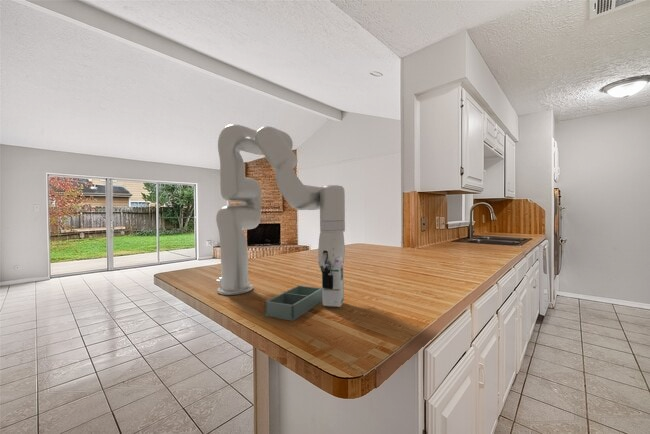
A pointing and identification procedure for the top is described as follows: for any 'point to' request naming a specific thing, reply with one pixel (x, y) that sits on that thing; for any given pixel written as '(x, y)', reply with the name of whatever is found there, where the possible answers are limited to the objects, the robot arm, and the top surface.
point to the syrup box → (335, 286)
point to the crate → (293, 302)
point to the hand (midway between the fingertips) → (333, 284)
